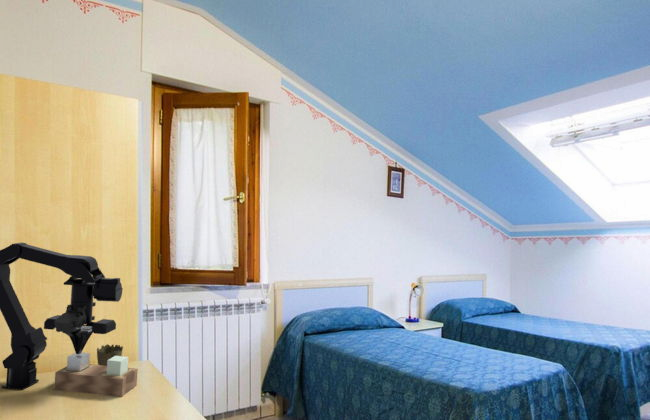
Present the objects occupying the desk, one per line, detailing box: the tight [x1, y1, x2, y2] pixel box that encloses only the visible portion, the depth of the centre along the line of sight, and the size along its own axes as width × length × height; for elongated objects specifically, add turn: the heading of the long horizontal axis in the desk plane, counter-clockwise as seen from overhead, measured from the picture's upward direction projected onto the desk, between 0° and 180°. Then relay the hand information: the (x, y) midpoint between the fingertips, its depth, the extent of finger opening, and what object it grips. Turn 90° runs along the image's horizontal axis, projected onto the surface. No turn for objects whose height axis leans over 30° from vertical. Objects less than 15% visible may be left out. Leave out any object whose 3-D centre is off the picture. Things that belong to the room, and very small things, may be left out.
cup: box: [96, 344, 124, 366], centre depth 138 cm, size 8×7×8 cm
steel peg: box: [66, 352, 90, 372], centre depth 127 cm, size 4×4×5 cm
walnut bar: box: [53, 363, 139, 398], centre depth 126 cm, size 20×8×5 cm, turn 85°
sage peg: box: [107, 355, 129, 376], centre depth 126 cm, size 4×4×5 cm
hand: (78, 353), depth 127 cm, fingers closed
